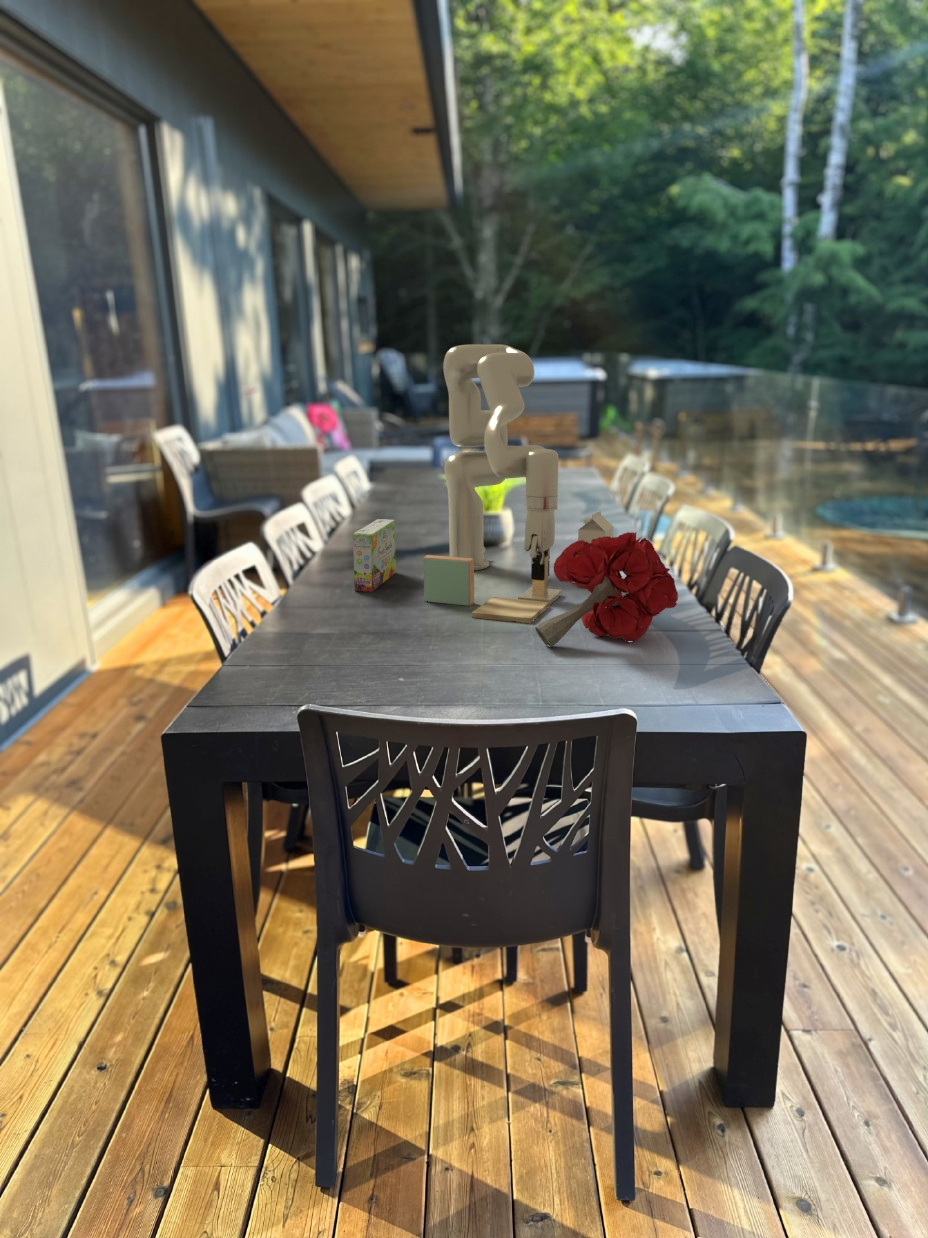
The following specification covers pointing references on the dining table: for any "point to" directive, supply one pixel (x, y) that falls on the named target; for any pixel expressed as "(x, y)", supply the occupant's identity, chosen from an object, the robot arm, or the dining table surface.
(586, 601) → the bouquet
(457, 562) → the tile
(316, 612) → the dining table surface
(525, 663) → the dining table surface
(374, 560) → the snack box
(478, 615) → the wooden base plate
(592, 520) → the milk carton
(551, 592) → the wooden post on base
